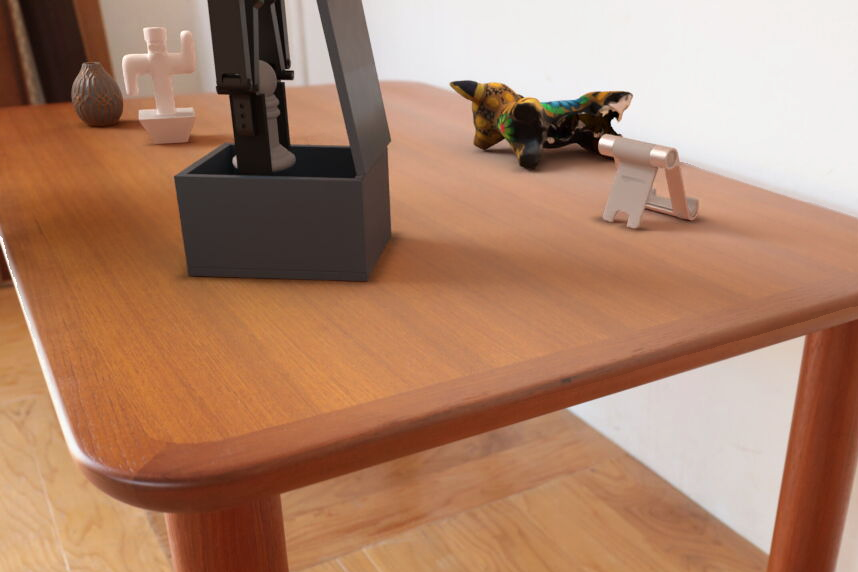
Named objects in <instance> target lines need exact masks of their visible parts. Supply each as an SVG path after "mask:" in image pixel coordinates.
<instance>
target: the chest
mask: <svg viewBox="0 0 858 572" xmlns="http://www.w3.org/2000/svg"><path fill="white" fill-rule="evenodd" d="M290 146H291V153H292V154H294V155H295V158H296V161H295V164H294V165H293V166H292V167H291V168H289V169H286V170H282V171H277V172H272V173H271V174H238V169H237V168H236V167H234V165H233V158H234V157H235V156H236V151H235V142H223V143H222V144H221V145H219V146H217V147H216V148H214V149H213V150H211V151H210V152H208V153H207V154H205V155H203V156H202V157H201V158H199V159H197V160H196V161H195V162H193V163H191V164H190V165H188V166H187V167H185V168H184V169H182V170H180V171H179V172H177V173H176V174H174V176H173V180H174V187H175V195H176V200H177V209H178V214H179V222H180V228H181V235H182V241H183V249H184V257H185V262H186V267H187V276H188V277H208V278H209V277H211V278H212V277H213V278H219V277H220V278H242V279H243V278H247V279H274V280H275V279H278V280H280V279H281V280H282V279H284V280H313V281H315V280H316V281H345V282H346V281H347V282H348V281H349V282H368V281H369V279H370V277H371V275H372V273H373V271H374V269H375V267H376V265H377V263H378V261H379V260H380V257H381V256H382V254H383V252H384V250H385V249H386V246H387V244H388V242H389V241H390V239H391V237H392V218H391V216H392V215H391V195H390V193H391V192H390V171H389V170H390V168H389V149H388V146H387V147H386V149H385V150H384V151H383V153H382V154H381V155H380V157H379V158H378V159H377V161H376V162H375V163H374V165H373V166H372V167H371V169H370V170H369V171H368V173H367V174H366V175H360V176H357V174H356V170H355V165H354V161H353V157H352V153H351V148H350V145H338V144H337V145H336V144H299V143H298V144H296V143H294V144H293V143H290Z"/></svg>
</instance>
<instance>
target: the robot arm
mask: <svg viewBox="0 0 858 572" xmlns="http://www.w3.org/2000/svg"><path fill="white" fill-rule="evenodd" d="M206 1H207V10H208V11H207V12H208V19H209V28H210V36H211V37H210V38H211V45H212V55H213V63H214V73H215V83H216V85H215V91H216V92H215V93H216V94H217V95H221V96H222V95H223V96H225V95H226V96H228V99H229V108H230V117H231V124H232V133H233V141H234V142H233V143H235V151H236V160H237V168H238V174H271V173H272V162H271V152H270V142H269V132H268V122H267V112H266V102H265V94H259V91H260V85H259V60H261V61H264V62H266V63H268V64H269V65H270V66H271V67H272V68H273V70H274V72H275V74H276V78H277V86H276V89H275V91H274V93H273V94H274V95H275V96H276V98H277V99H278V100H279V104H278V106H277V108H278V109H279V110H280V115H279V116H278V117H277V127H278V137H279V144H281V145H282V146H283V147H284V148H286V149H287V150H288V151H290V152H291V146H290V144H291V137H290V127H289V126H290V125H289V115H288V103H287V102H288V101H287V94H286V93H287V92H286V82H285V81H294V80H295V70H292V69H291V66H292V60H291V55H290V54H291V53H290V52H291V51H290V43H289V42H290V41H289V33H288V32H289V31H288V23H287V12H286V11H287V10H286V1H285V0H206ZM236 74H239V75H236Z"/></svg>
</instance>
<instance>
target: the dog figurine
mask: <svg viewBox="0 0 858 572" xmlns="http://www.w3.org/2000/svg"><path fill="white" fill-rule="evenodd" d="M449 87H450V88H452V90H454V91H455V92H456V93H457V94H458V95H460V96H461V97H462V98H463V99H465V100H468V101H471V111H472V118H473V119H472V122H473V127H474V128H475V132H474V137H473V141H472V143H473V145H474V146H475V147H476V148H478V149H480V150H482V151H486V150H488V149H490V148H492V147H494V146H495V145H497V144H499V143H501V142H503V141H506V142H507V143H508V144H509V146H510V147H511V149H512V150H513V152H514V154H515V155H516V156H517V163H518V166H519V167H520V168H523V169H526V170H531V169H535V168H537V167H538V166H539V164H540V163H541V160H542V156H543V155H542V154H543V149H546V150H555V149H561V148H563V147H567V146H569V145H573V144H575V145H578V146H579V147H581V148H582V149H584V150H585V151H586V152H588V153H594V154H600V155H602V154H601V153H600V152H599V149H598V144H599V140H600V138H601V137H602V136H603V135H604V134H610V135H614V136H619V137H623V138H624V136H623V135H622V133H618V132H617V131H616V130H615V129H614V127H613V126H612V120H613V121H614V120H616V121H617V123H620V122H621V121H622V119H623V115H624V112H625V111H626V110H627V109H629V107H630V105H631V103H632V100H633V98H634V95H633V93H631V92H629V91H625V90H610V91H609V90H607V91H606V90H605V91H604V90H603V91H601V90H599V91H589V92H587V93H585V94H582V95H581V96H580V97H578V98H576V99H563V100H561V99H560V100H552V101H540V100H539V99H538V98H535V97H531V96H526V97H524V96H523V95H521V94H518V93H516V91H515V90H514V89H512V88H511V87H509V85H507V84H505V83H502V82H496V81H495V82H494V81H493V82H492V81H491V82H484V83H480V82H477V81H476V80H471V79H464V80H453V81H450V82H449ZM614 118H615V119H614ZM604 157H606V158H607V159H614V157H611V156H607V155H604Z"/></svg>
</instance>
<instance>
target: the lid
mask: <svg viewBox="0 0 858 572" xmlns="http://www.w3.org/2000/svg"><path fill="white" fill-rule="evenodd" d="M315 1H316V5H317V9H318V14H319V18H320V22H321V26H322V27H321V28H322V31H323V35H324V40H325V45H326V48H327V49H326V50H327V53H328V57H329V61H330V62H329V63H330V66H331V70H332V73H333V74H332V75H333V79H334V83H335V88H336V92H337V96H338V101H339V105H340V110H341V113H342V118H343V122H344V126H345V130H346V135H347V139H348V144H349V146H350V148H351V153H352V157H353V161H354V165H355V170H356V174H357V176H360V175H366V174H367V173H368V171H369V170H370V169H371V167H372V166H373V165H374V163H375V162H376V161H377V159H378V158H379V157H380V155H381V154H382V153H383V151H384V150H385V149H386V147H388V146H389V145H390V144H391V142H392V138H391V133H390V128H389V123H388V118H387V113H386V109H385V104H384V99H383V95H382V90H381V84H380V80H379V75H378V71H377V66H376V61H375V57H374V52H373V47H372V42H371V37H370V33H369V28H368V24H367V19H366V14H365V9H364V5H363V0H315Z"/></svg>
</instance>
